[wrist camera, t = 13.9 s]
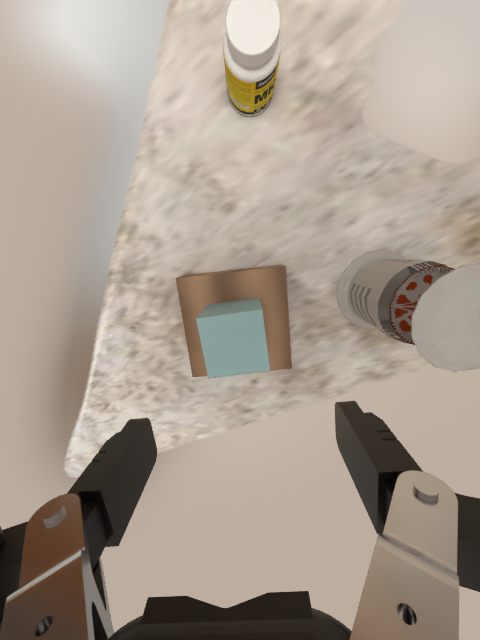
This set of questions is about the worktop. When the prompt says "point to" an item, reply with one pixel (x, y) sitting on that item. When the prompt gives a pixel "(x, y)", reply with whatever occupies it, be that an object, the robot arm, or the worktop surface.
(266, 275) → the walnut block
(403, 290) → the french press
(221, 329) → the teal cube
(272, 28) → the supplement bottle
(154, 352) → the worktop surface
